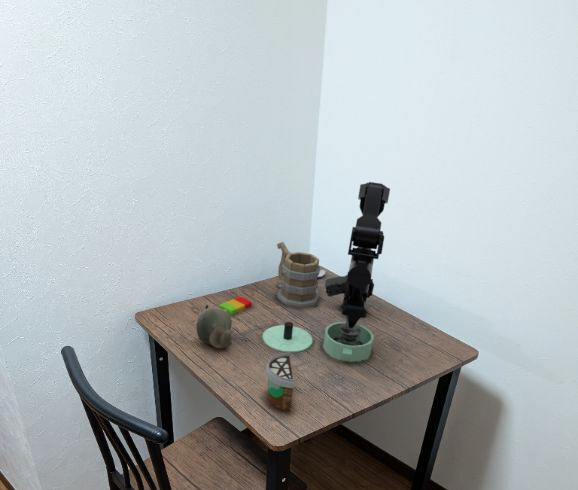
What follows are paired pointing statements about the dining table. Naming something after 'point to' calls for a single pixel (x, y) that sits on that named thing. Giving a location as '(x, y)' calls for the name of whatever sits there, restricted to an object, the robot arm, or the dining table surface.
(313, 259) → the tankard
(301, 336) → the pot lid
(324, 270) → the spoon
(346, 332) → the dark grey tall piece
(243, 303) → the popsicle
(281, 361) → the food container
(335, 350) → the pot
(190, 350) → the dining table surface
